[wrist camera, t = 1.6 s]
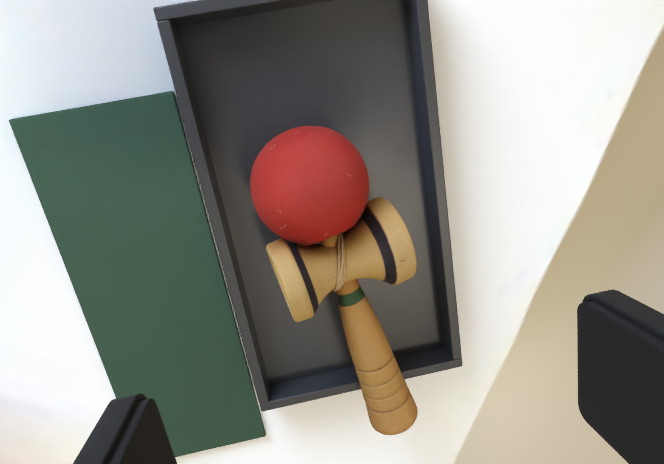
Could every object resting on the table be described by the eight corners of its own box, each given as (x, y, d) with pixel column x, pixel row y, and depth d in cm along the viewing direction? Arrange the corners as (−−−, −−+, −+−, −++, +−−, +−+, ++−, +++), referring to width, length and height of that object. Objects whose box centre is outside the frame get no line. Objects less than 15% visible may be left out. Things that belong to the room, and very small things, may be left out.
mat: (11, 119, 22) (8, 120, 22) (173, 91, 23) (171, 91, 22) (143, 461, 29) (141, 465, 29) (265, 433, 29) (265, 436, 29)
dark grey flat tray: (164, 17, 22) (152, 7, 20) (411, -24, 23) (424, -37, 21) (262, 390, 28) (261, 412, 26) (450, 348, 29) (462, 366, 27)
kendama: (446, 361, 28) (364, 98, 23) (473, 437, 22) (372, 105, 17) (338, 390, 29) (234, 145, 24) (336, 469, 24) (197, 168, 18)
